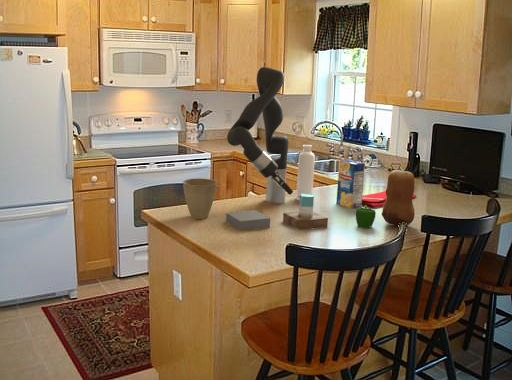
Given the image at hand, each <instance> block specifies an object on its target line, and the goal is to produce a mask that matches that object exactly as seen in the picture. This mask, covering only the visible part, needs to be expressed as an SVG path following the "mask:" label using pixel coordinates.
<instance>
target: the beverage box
mask: <svg viewBox="0 0 512 380" xmlns="http://www.w3.org/2000/svg"><path fill="white" fill-rule="evenodd" d="M338 165H339V166H338V176H337V177H338V179H337V190H336V191H337V192H336V204H337V205H340V206H343V207H345V208H349V209H359V208H361V207H362V206H361V205H362V196H363V191H364V181H365V168H366V166H365V165H366V163H365V162H361V161H357V160H352V159H345V160H339V163H338Z"/></svg>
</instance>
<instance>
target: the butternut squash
mask: <svg viewBox="0 0 512 380" xmlns="http://www.w3.org/2000/svg"><path fill="white" fill-rule="evenodd" d="M385 191H386V195H387V198H386V201H385V203H384V205H383V207H382V212H381V217H382V218H383V220H384V221H385V222H386V223H387V224H389V225H391V226H394V227H396V228H399V227H398V225H399V223H402V222H405V223H407V225H406V226H408V225H410V224H411V223H413V222H414V219H415V207H414V204H413V199H412V197H413V194H415V175H414V173H412V172H410V171H405V170H402V169H401V170H400V169H393V170H392V171H390V172H389V174H388V177H387V184H386V189H385Z"/></svg>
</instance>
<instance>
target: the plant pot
mask: <svg viewBox="0 0 512 380" xmlns="http://www.w3.org/2000/svg"><path fill="white" fill-rule="evenodd" d="M217 184H218V181H216V180H215V179H210V178H201V177H199V178H195V177H194V178H188V179H184V180H183V181H182V187H183V193H184V198H185V202H186V206H187V209H188V212H189V215H190V217H191V218H192V219H194V220H195V219H197V220H203V219H206V218H208V217H209V215H210V212H211V209H212V207H213V203H214V199H215V196H216V190H217Z"/></svg>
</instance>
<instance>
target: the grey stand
mask: <svg viewBox="0 0 512 380" xmlns="http://www.w3.org/2000/svg"><path fill="white" fill-rule="evenodd" d="M225 214H226V216H225V222H226V223H228V224H229V225H230V226H232V227H234V228H235V229H237V230H238V231H248V230H249V231H250V230H257V229H266V228H267V229H269V228H271V217H268V216H267V215H265V214H263V213H261V212H259V211H257V210H256V209H253V210H251V209H250V210H241V211H231V212H230V211H229V212H226V213H225Z"/></svg>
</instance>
